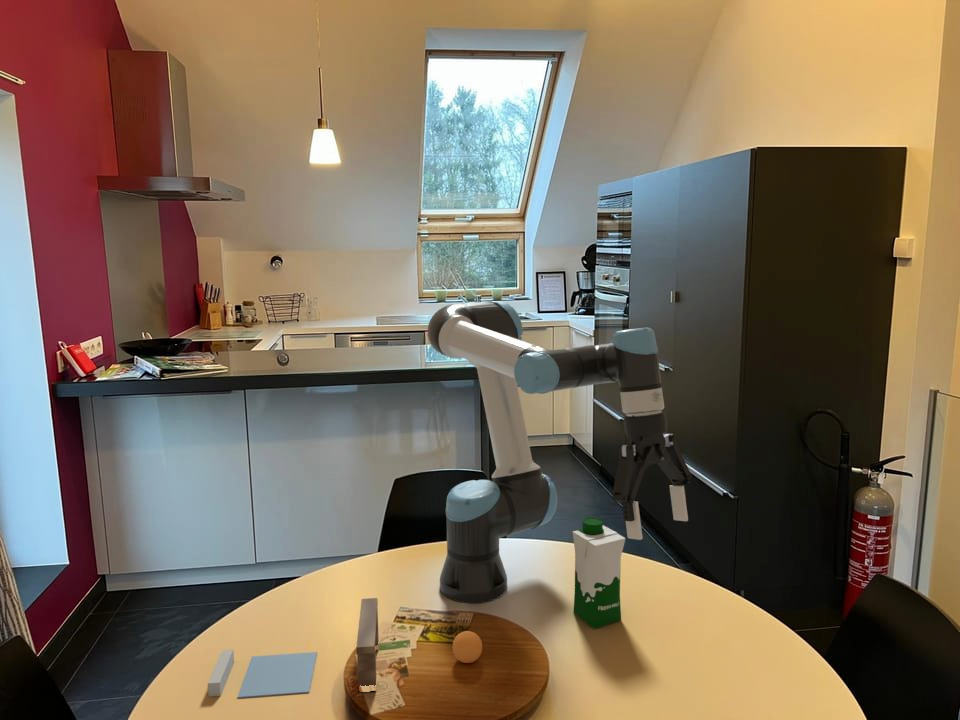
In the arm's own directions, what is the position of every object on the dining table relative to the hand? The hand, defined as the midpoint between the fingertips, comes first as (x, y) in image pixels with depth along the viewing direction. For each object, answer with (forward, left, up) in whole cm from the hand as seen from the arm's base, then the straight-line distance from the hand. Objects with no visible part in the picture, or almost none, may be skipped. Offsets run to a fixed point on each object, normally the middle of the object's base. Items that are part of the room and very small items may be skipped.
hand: (658, 529), depth 128 cm
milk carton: (-14, -7, -25) cm, 30 cm away
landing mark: (-2, -69, -25) cm, 73 cm away
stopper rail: (-2, -79, -25) cm, 83 cm away
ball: (-2, -35, -22) cm, 41 cm away
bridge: (-2, -53, -25) cm, 58 cm away
